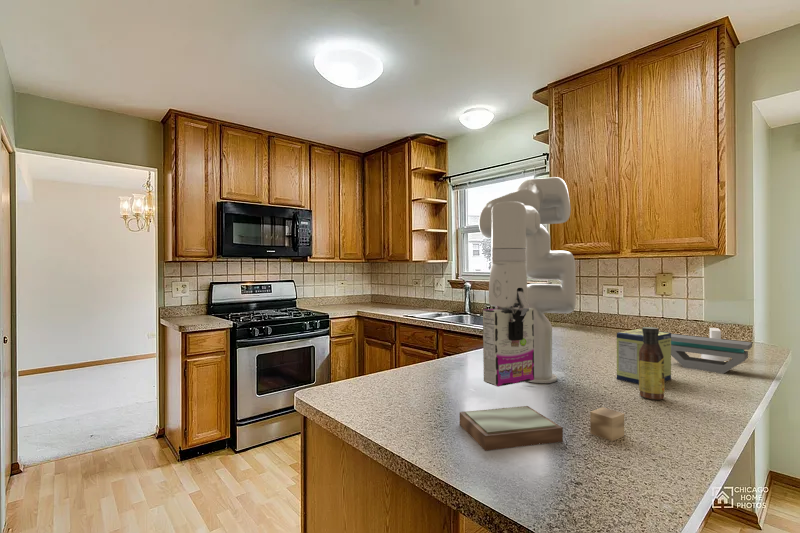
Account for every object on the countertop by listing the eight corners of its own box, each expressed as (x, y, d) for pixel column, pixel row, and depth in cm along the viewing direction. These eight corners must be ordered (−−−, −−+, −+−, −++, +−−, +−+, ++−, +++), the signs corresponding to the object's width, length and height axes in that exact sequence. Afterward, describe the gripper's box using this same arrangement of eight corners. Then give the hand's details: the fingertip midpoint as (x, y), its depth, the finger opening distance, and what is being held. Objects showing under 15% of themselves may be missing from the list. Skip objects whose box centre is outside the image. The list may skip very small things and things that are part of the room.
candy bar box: (519, 375, 97) (519, 306, 97) (534, 380, 93) (535, 308, 93) (481, 381, 92) (481, 308, 92) (496, 387, 87) (496, 310, 87)
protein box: (671, 379, 136) (671, 332, 136) (649, 387, 127) (649, 337, 127) (638, 372, 145) (638, 328, 144) (615, 379, 136) (615, 332, 136)
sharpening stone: (663, 364, 156) (663, 335, 156) (669, 361, 161) (669, 333, 161) (748, 377, 138) (748, 345, 137) (752, 373, 143) (752, 342, 143)
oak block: (590, 433, 92) (590, 411, 92) (602, 428, 95) (602, 407, 95) (612, 441, 88) (612, 418, 88) (624, 436, 91) (624, 413, 91)
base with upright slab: (730, 362, 158) (730, 331, 158) (701, 360, 163) (702, 329, 163) (727, 358, 166) (727, 328, 166) (700, 355, 171) (700, 327, 170)
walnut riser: (459, 424, 97) (459, 410, 97) (527, 417, 101) (527, 404, 101) (485, 450, 84) (485, 434, 83) (562, 441, 88) (562, 426, 88)
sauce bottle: (668, 401, 113) (668, 330, 113) (643, 400, 115) (643, 329, 115) (658, 394, 120) (658, 326, 120) (635, 393, 121) (635, 325, 121)
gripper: (477, 258, 100) (477, 332, 100) (512, 256, 83) (512, 345, 83) (505, 258, 101) (505, 330, 102) (545, 256, 85) (545, 343, 85)
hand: (508, 336), depth 92 cm, fingers closed on candy bar box, 5 cm apart
